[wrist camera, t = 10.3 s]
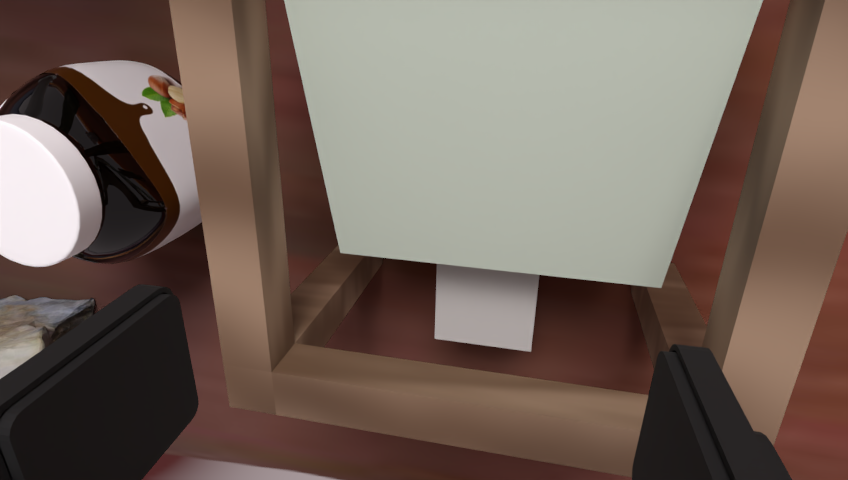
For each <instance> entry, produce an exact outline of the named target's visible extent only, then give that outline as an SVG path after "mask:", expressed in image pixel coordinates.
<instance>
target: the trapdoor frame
mask: <svg viewBox="0 0 848 480" xmlns="http://www.w3.org/2000/svg"><path fill="white" fill-rule="evenodd" d="M169 4H170V10H171V17H172V24H173V30H174V37H175V44H176V50H177V57H178V64H179V71H180V77H181V84H182V91H183V97H184V104H185V111H186V118H187V124H188V131H189V138H190V144H191V151H192V158H193V164H194V171H195V178H196V185H197V191H198V198H199V205H200V211H201V218H202V225H203V232H204V238H205V245H206V252H207V258H208V265H209V272H210V278H211V285H212V292H213V299H214V305H215V312H216V319H217V325H218V332H219V339H220V346H221V352H222V359H223V366H224V372H225V379H226V386H227V392H228V399H229V406H230V407H234V408H240V409H246V410H251V411H257V412H263V413H268V414H274V415H280V416H285V417H291V418H297V419H303V420H308V421H314V422H320V423H325V424H331V425H337V426H342V427H348V428H354V429H359V430H365V431H371V432H377V433H382V434H388V435H394V436H399V437H405V438H411V439H416V440H422V441H428V442H433V443H439V444H445V445H451V446H456V447H462V448H468V449H473V450H479V451H485V452H490V453H496V454H502V455H507V456H513V457H519V458H524V459H530V460H536V461H542V462H547V463H553V464H559V465H564V466H570V467H576V468H581V469H587V470H593V471H598V472H604V473H610V474H616V475H621V476H627V477H632V467H633V462H634V457H635V453H636V448H637V444H638V440H639V435H640V431H641V426H642V422H643V417H644V413H645V409H646V404H647V400H648V395H645V394H638V393H631V392H624V391H617V390H611V389H604V388H597V387H590V386H583V385H576V384H570V383H563V382H556V381H549V380H542V379H535V378H529V377H522V376H515V375H508V374H501V373H495V372H488V371H481V370H474V369H467V368H460V367H454V366H447V365H440V364H433V363H426V362H419V361H413V360H406V359H399V358H392V357H385V356H379V355H372V354H365V353H358V352H351V351H344V350H338V349H331V348H324V346H325V345H326V343H327V342H328V340H329V339H330V338H331V336H332V335H333V333H334V332H335V330H336V329H337V328H338V326H339V325H340V323H341V322H342V321H343V319H344V318H345V316H346V315H347V313H348V312H349V311H350V309H351V308H352V306H353V305H354V303H355V302H356V301H357V299H358V298H359V296H360V295H361V293H362V292H363V291H364V289H365V288H366V286H367V285H368V284H369V282H370V281H371V279H372V278H373V276H374V275H375V274H376V272H377V271H378V269H379V268H380V266H381V265H382V264H383V258H381V257H372V256H363V255H354V254H345V253H340V249H339V245H338V246H337V247H336V248H335V249H334V250H333V251H332V252H331V253H330V254H329V255H328V256H327V257H326V258H325V259H324V260H323V261H322V262H321V264H320V265H319V266H318V267H317V268H316V269H315V270H314V271H313V272H312V273H311V274H310V275H309V276H308V277H307V278H306V279H305V280H304V281H303V282H302V283H301V284H300V285H299V286H298V287H297V288H296V290H295V291H294V292H293V293H292V294H290V282H289V271H288V259H287V248H286V236H285V225H284V213H283V201H282V190H281V178H280V167H279V155H278V144H277V132H276V121H275V109H274V97H273V86H272V74H271V63H270V51H269V40H268V28H267V17H266V5H265V0H169ZM847 231H848V0H790V4H789V8H788V12H787V15H786V19H785V23H784V27H783V31H782V35H781V39H780V43H779V47H778V51H777V55H776V58H775V62H774V66H773V70H772V74H771V78H770V82H769V86H768V90H767V94H766V98H765V101H764V105H763V109H762V113H761V117H760V121H759V125H758V129H757V133H756V137H755V141H754V144H753V148H752V152H751V156H750V160H749V164H748V168H747V172H746V176H745V180H744V184H743V188H742V191H741V195H740V199H739V203H738V207H737V211H736V215H735V219H734V223H733V227H732V231H731V234H730V238H729V242H728V246H727V250H726V254H725V258H724V262H723V266H722V270H721V274H720V277H719V281H718V285H717V289H716V293H715V297H714V301H713V305H712V309H711V313H710V317H709V320H708V324H707V326H706V324H705V322H704V320H703V318H702V316H701V315H700V313H699V311H698V309H697V307H696V305H695V303H694V301H693V299H692V297H691V295H690V293H689V291H688V289H687V287H686V285H685V283H684V282H683V280H682V278H681V276H680V274H679V272H678V270H677V268H676V266H675V264H674V263H670V265H669V268H668V270H667V273H666V276H665V279H664V282H663V284H662V287H661V288H656V287H646V286H637V285H632V287H631V294H632V297H633V300H634V304H635V307H636V310H637V314H638V317H639V320H640V324H641V327H642V330H643V334H644V337H645V340H646V344H647V347H648V351H649V354H650V357H651V361H652V364H653V367H654V369H655V365H656V360H657V357H658V354H659V352H660V351H667V352H669V350H670V348H671V346H672V345H673V344H678V345H687V346H696V347H705V348H709V349H710V350H711V351H712V353H713V355H714V357H715V359H716V361H717V363H718V364H719V366H720V368H721V370H722V372H723V374H724V376H725V378H726V380H727V382H728V383H729V385H730V387H731V389H732V391H733V393H734V395H735V397H736V399H737V400H738V402H739V404H740V406H741V408H742V410H743V412H744V414H745V416H746V417H747V419H748V421H749V423H750V425H751V427H752V429H753V431H757V432H761V433H763V434H764V435H766V436H767V438H768V439H769V440H770V442H771V443H772V445H774V442H775V440H776V437H777V434H778V431H779V428H780V425H781V422H782V419H783V416H784V413H785V411H786V408H787V405H788V402H789V399H790V396H791V393H792V390H793V387H794V384H795V381H796V379H797V376H798V373H799V370H800V367H801V364H802V361H803V358H804V355H805V352H806V350H807V347H808V344H809V341H810V338H811V335H812V332H813V329H814V326H815V323H816V321H817V318H818V315H819V312H820V309H821V306H822V303H823V300H824V297H825V294H826V292H827V289H828V286H829V283H830V280H831V277H832V274H833V271H834V268H835V265H836V263H837V260H838V257H839V254H840V251H841V248H842V245H843V242H844V239H845V236H846V233H847Z"/></svg>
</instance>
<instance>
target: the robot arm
mask: <svg viewBox="0 0 848 480" xmlns="http://www.w3.org/2000/svg"><path fill="white" fill-rule="evenodd" d="M197 408H198V396H197V390H196V385H195V380H194V375H193V369H192V364H191V359H190V354H189V349H188V343H187V338H186V333H185V328H184V322H183V317H182V312H181V307H180V302H179V299H178V298H177V297H176V296H175V295H173V293H172V291H171V290H170V289H169V288H167V287H160V286H151V285H137V286H135V287H133V288H132V289H130V290H129V291H127V292H126V293H124V294H123V295H121V296H120V297H119V298H117V299H116V300H114V301H113V302H111V303H110V304H108V305H107V306H105V307H104V308H103V309H101V310H100V311H98V312H97V313H95V314H94V315H92V316H91V317H89V318H88V319H87V320H85V321H84V322H82V323H81V324H79V325H78V326H76V327H75V328H74V329H72V330H71V331H69V332H68V333H66V334H65V335H63V336H62V337H60V338H59V339H58V340H56V341H55V342H53V343H52V344H50V345H49V346H47V347H46V348H44V349H43V350H42V351H40V352H39V353H37V354H36V355H34V356H33V357H31V358H30V359H29V360H27V361H26V362H24V363H23V364H21V365H20V366H18V367H17V368H15V369H14V370H13V371H11V372H10V373H8V374H7V375H5V376H4V377H2V378H1V379H0V480H142V479H143V477H144V476H145V475H146V474H147V473H148V471H149V470H150V469H151V468H152V467H153V466H154V464H155V463H156V462H157V461H158V460H159V458H160V457H161V456H162V455H163V454H164V452H165V451H166V450H167V449H168V448H169V446H170V445H171V444H172V443H173V442H174V440H175V439H176V438H177V437H178V436H179V435H180V433H181V432H182V431H183V430H184V429H185V427H186V426H187V425H188V424H189V423H190V421H191V420H192V419H193V417H194V416H195V414H196V412H197ZM632 480H792V479H791V477H790V475H789V474H788V472H787V470H786V468H785V466H784V465H783V463H782V461H781V459H780V457H779V456H778V454H777V452H776V450H775V448H774V447H773V445H772V443H771V442H770V440H769V439H768V438H767V436H766V435H764V434H763V433H761V432H757V431H753V429H752V427H751V425H750V423H749V421H748V419H747V417H746V416H745V414H744V412H743V410H742V408H741V406H740V404H739V402H738V400H737V399H736V397H735V395H734V393H733V391H732V389H731V387H730V385H729V383H728V382H727V380H726V378H725V376H724V374H723V372H722V370H721V368H720V366H719V364H718V363H717V361H716V359H715V357H714V355H713V353H712V351H711V350H710V349H709V348H705V347H696V346H687V345H678V344H673V345H672V346H671V348H670V350H669V352H667V351H660V352H659V354H658V357H657V360H656V365H655V369H654V373H653V378H652V382H651V387H650V391H649V395H648V400H647V404H646V409H645V413H644V417H643V422H642V426H641V431H640V435H639V440H638V444H637V448H636V453H635V457H634V462H633V467H632Z"/></svg>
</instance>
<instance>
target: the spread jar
mask: <svg viewBox="0 0 848 480" xmlns="http://www.w3.org/2000/svg"><path fill="white" fill-rule="evenodd" d="M201 222H202V218H201V211H200V205H199V198H198V191H197V185H196V178H195V171H194V164H193V158H192V151H191V144H190V138H189V131H188V124H187V118H186V111H185V104H184V97H183V91H182V84H181V82H179V81H178V80H176V79H175V78H173V77H172V76H170V75H169V74H167V73H165V72H163V71H161V70H159V69H157V68H155V67H153V66H150V65H148V64H144V63H139V62H134V61H124V60H116V61H101V62H89V63H78V64H70V65H64V66H61V67H57V68H53V69H51V70H48V71H46V72H44V73H42V74H40V75H38V76H36V77H34V78H32V79H31V80H29V81H27V82H26V83H25V84H23V85H22V86H21V87H20V88H19V89H18V90H16V91H15V92H13V93H12V95H11V96H10V97H9V98H8V99H7V100H6V101H5V102H4V103H3V104H2V105H1V107H0V255H2V256H4V257H6V258H7V259H9V260H12V261H14V262H17V263H20V264H22V265H27V266H33V267H47V266H51V265H54V264H57V263H59V262H61V261H63V260H66V259H68V258H70V257H74V258H77V259H80V260H84V261H88V262H93V263H102V264H114V263H120V262H125V261H130V260H133V259H135V258H138V257H141V256H143V255H146V254H148V253H150V252H152V251H154V250H156V249H158V248H160V247H162V246H164V245H166V244H167V243H169V242H171V241H173V240H174V239H176V238H178V237H180V236H181V235H183V234H185V233H186V232H188V231H189V230H191V229H193V228H194V227H196V226H197V225H198V224H200V223H201Z"/></svg>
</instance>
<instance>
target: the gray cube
mask: <svg viewBox="0 0 848 480" xmlns="http://www.w3.org/2000/svg"><path fill="white" fill-rule="evenodd" d="M538 283H539V275H537V274H528V273H518V272H509V271H500V270H491V269H482V268H473V267H464V266H454V265H445V264H437V275H436V309H435V339H440V340H448V341H455V342H462V343H470V344H477V345H485V346H492V347H499V348H507V349H514V350H522V351H529V352H531V346H532V337H533V328H534V319H535V310H536V301H537V292H538Z"/></svg>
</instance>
